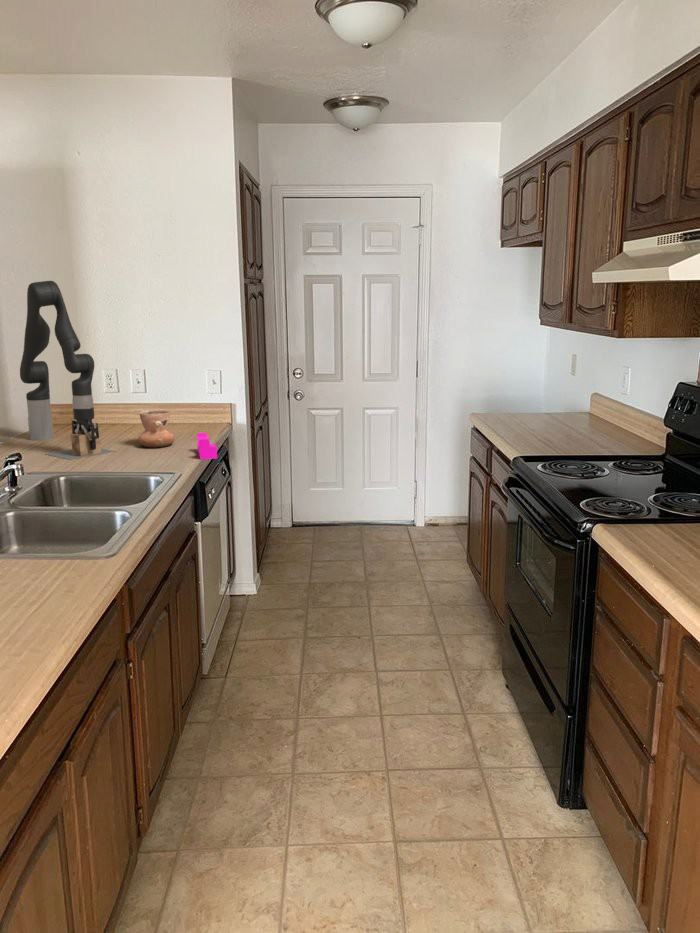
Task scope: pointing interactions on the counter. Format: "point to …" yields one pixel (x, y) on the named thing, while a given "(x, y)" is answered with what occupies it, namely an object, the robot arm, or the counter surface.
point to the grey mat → (69, 455)
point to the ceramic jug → (155, 429)
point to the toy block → (206, 447)
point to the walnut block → (84, 445)
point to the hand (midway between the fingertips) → (86, 448)
